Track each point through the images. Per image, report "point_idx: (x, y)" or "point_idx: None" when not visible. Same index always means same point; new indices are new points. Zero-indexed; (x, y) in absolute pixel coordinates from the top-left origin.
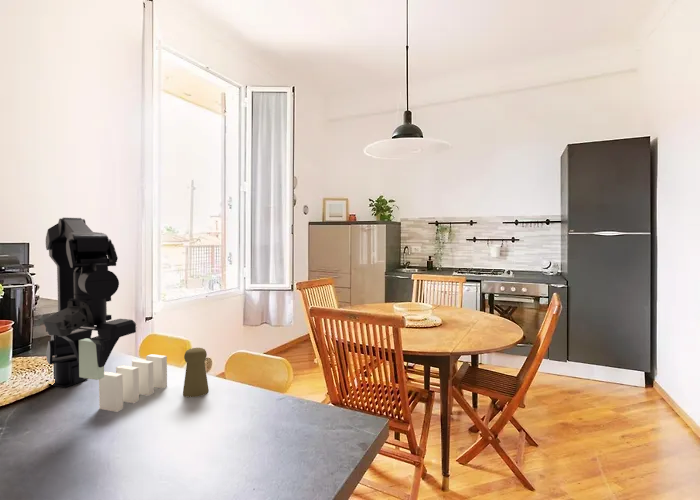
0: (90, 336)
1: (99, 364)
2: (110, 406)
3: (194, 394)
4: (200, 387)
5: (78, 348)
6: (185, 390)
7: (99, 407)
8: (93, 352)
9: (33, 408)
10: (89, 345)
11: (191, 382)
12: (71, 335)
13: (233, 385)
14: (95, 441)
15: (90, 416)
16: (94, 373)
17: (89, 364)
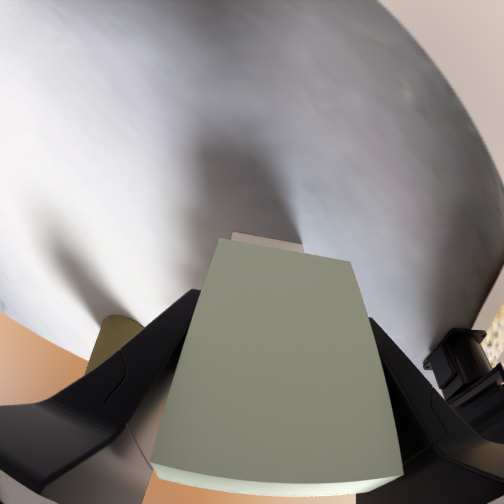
0: (358, 499)
1: (184, 298)
2: (257, 243)
3: (108, 320)
4: (98, 335)
5: (396, 408)
6: (127, 330)
7: (302, 246)
8: (219, 378)
9: (474, 231)
10: (263, 442)
11: (105, 344)
12: (466, 501)
13: (90, 356)
14: (154, 66)
15: (293, 196)
16: (234, 260)
17: (273, 304)
